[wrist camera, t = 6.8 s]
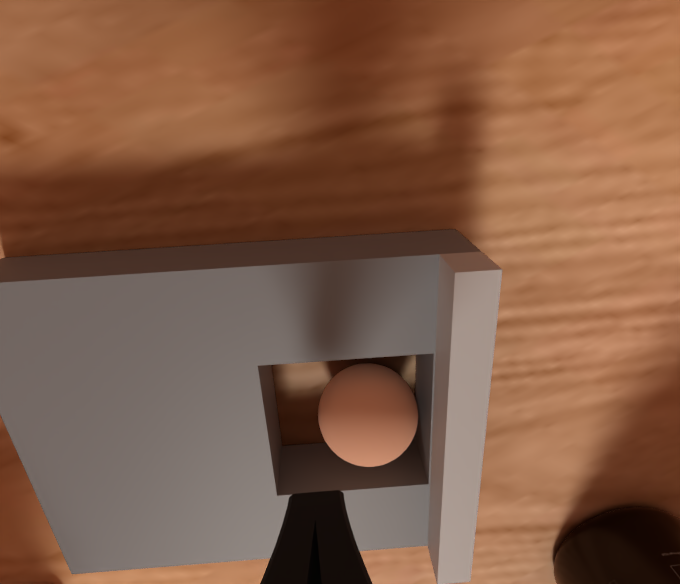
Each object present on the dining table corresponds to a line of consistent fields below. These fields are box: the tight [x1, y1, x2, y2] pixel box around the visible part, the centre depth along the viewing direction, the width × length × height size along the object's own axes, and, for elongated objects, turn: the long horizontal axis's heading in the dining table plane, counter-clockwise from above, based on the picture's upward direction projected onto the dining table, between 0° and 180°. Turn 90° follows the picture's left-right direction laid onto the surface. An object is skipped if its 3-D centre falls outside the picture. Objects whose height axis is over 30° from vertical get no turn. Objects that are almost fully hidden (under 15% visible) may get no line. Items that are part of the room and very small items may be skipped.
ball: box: [318, 363, 418, 467], centre depth 15 cm, size 4×4×4 cm
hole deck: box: [0, 229, 502, 584], centre depth 15 cm, size 12×15×4 cm
